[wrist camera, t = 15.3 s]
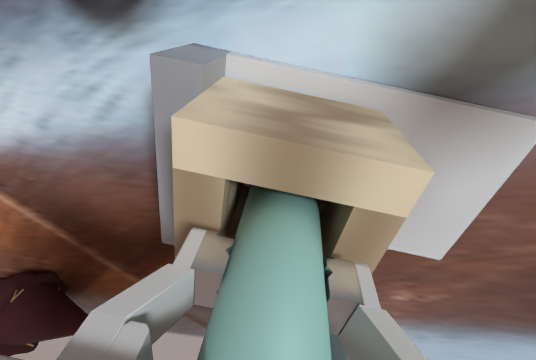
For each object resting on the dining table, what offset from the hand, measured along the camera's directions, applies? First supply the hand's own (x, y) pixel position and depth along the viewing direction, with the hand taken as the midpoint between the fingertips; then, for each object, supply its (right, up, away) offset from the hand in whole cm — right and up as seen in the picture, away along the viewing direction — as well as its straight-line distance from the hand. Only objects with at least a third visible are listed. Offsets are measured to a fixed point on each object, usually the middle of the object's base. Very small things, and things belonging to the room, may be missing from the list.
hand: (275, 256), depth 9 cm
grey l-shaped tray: (+4, +4, +7) cm, 9 cm away
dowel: (0, +2, +4) cm, 4 cm away
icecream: (-22, -8, +18) cm, 29 cm away
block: (+1, +4, +6) cm, 7 cm away
